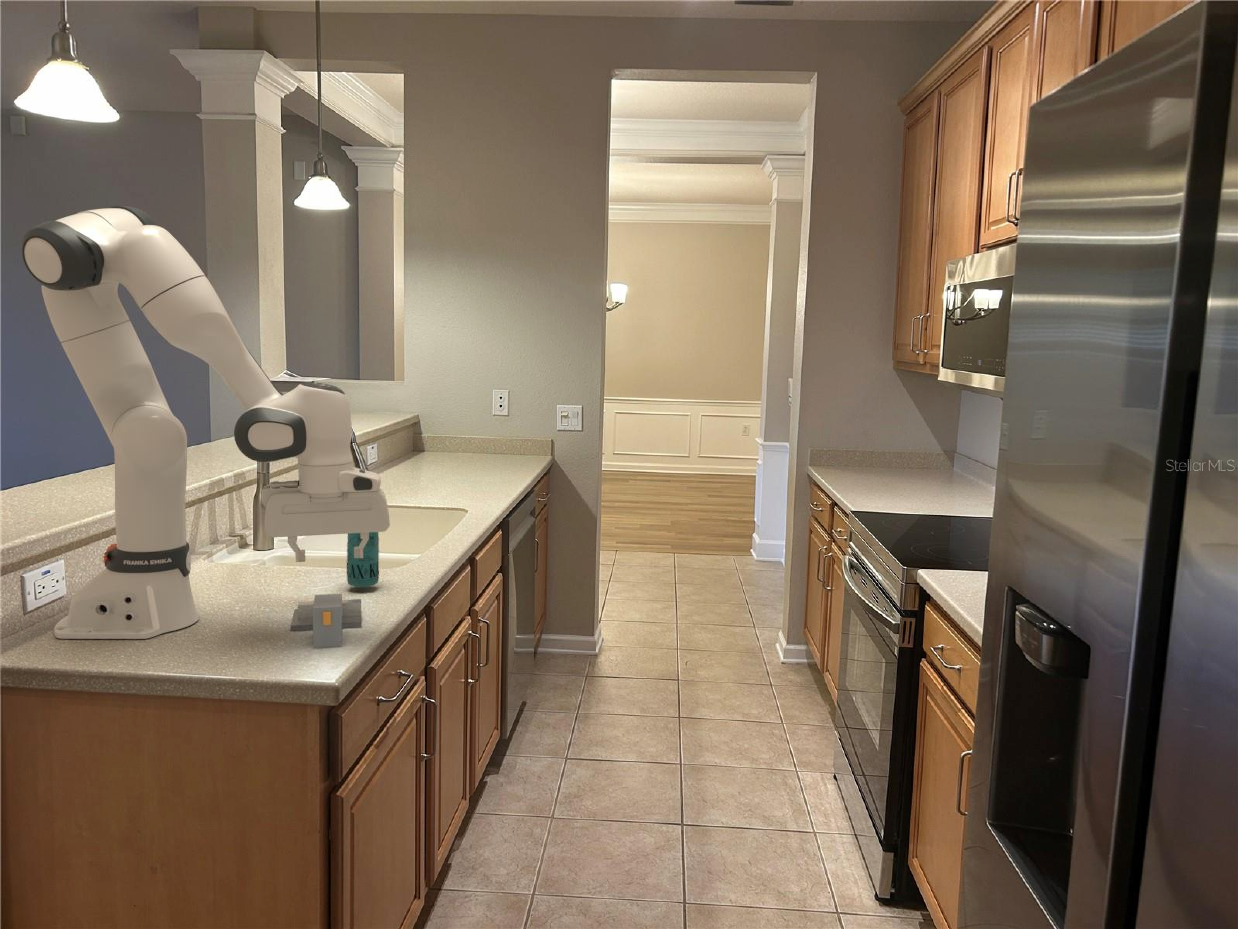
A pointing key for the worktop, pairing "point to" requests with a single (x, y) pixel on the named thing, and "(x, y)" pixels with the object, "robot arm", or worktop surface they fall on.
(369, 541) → the beverage bottle
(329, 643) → the module
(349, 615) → the grey ledge plate
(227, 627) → the worktop surface
